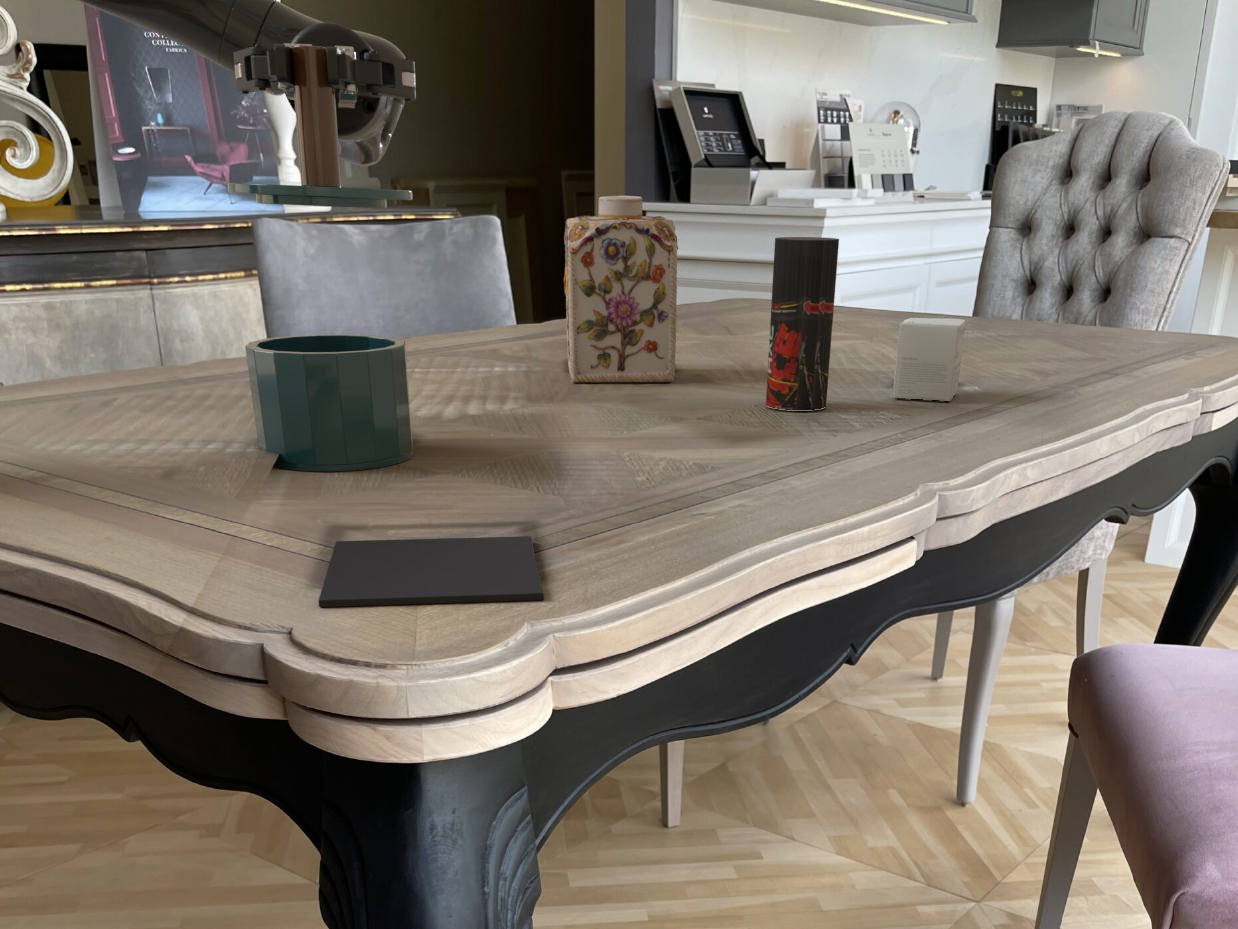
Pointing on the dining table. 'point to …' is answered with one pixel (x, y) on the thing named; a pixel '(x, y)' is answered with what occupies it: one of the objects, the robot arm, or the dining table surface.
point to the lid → (317, 145)
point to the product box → (928, 358)
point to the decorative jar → (621, 294)
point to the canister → (331, 401)
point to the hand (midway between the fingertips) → (307, 64)
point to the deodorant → (801, 322)
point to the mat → (431, 572)
